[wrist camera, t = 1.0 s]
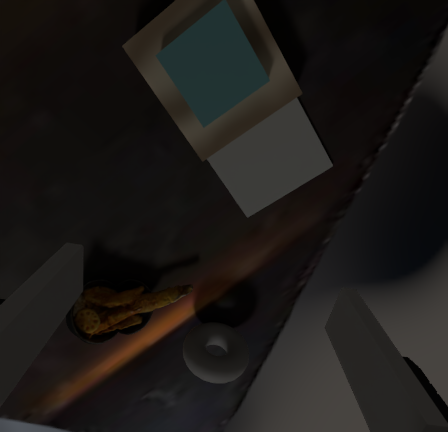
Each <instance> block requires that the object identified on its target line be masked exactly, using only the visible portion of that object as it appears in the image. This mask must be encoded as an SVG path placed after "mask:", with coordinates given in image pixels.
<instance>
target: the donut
mask: <svg viewBox="0 0 448 432" xmlns="http://www.w3.org/2000/svg"><path fill="white" fill-rule="evenodd" d="M208 345H218V346H221V347H222V348H224V349H225V350H226V352H227V354H226V355H224V356H215V355H212V354H210V353H209V352H208V351H207V350H206V348H205V347H206V346H208ZM183 357H184V359H185V362H186V364H187V366H188V368H189V369H190V370H191V371H192V372H193V373H194V374H195V375H196V376H198V377H199V378H201V379H202V380H205V381H208V382H211V383H226V382H229V381H233V380H235V379H236V378H237V377H239V376H240V375H241V374H242V373H243V372H244V370H245V368H246V366H247V365H248V359H249V350H248V347H247V343H246V341H245V340H244V338H243V337H242V335H241V334H240V333H238V332H237V331H236V330H235V329H234V328H232V327H230V326H228V325H226V324H222V323H216V322H209V323H204V324H200V325H198V326H196V327H195V328H193V329H192V330H191V331H190V332H189V333H188V335H187V336H186V339H185V341H184V344H183Z"/></svg>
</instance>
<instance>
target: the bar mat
mask: <svg viewBox="0 0 448 432" xmlns="http://www.w3.org/2000/svg"><path fill="white" fill-rule="evenodd" d="M207 160H208V161H209V163H210V164H211V166H212V167H213V169H214V170H215V171H216V173H217V174H218V176H219V177H220V179H221V180H222V182H223V183H224V184H225V186H226V187H227V189H228V190H229V192H230V193H231V195H232V196H233V198H234V199H235V200H236V202H237V203H238V205H239V206H240V208H241V209H242V211H243V212H244V213H245V215H246V216H247V218H248V217H249V216H251V215H253V214H254V213H256V212H258V211H259V210H261V209H263V208H264V207H266V206H268V205H269V204H271V203H273V202H274V201H276V200H278V199H279V198H281V197H283V196H284V195H286V194H288V193H289V192H291V191H293V190H294V189H296V188H298V187H299V186H301V185H302V184H304V183H306V182H307V181H309V180H311V179H312V178H314V177H316V176H317V175H319V174H321V173H322V172H324V171H326V170H327V169H329V168H331V167H332V166H333V165H332V163H331V161H330V159H329V157H328V155H327V153H326V151H325V150H324V148H323V146H322V144H321V142H320V140H319V138H318V136H317V134H316V133H315V131H314V129H313V127H312V125H311V123H310V121H309V119H308V118H307V116H306V114H305V112H304V110H303V108H302V106H301V104H300V103H299V101H298V99H297V98H295V99H294V100H292V101H291V102H289V103H288V104H286V105H285V106H283V107H282V108H280V109H279V110H278V111H276V112H275V113H273V114H272V115H270V116H269V117H267V118H266V119H264V120H263V121H261V122H260V123H258V124H257V125H255V126H254V127H253V128H251V129H250V130H248V131H247V132H245V133H244V134H242V135H241V136H239V137H238V138H236V139H235V140H233V141H232V142H231V143H229V144H228V145H226V146H225V147H223V148H222V149H220V150H219V151H217V152H216V153H214V154H213V155H211V156H210V157H209V158H207Z"/></svg>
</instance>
